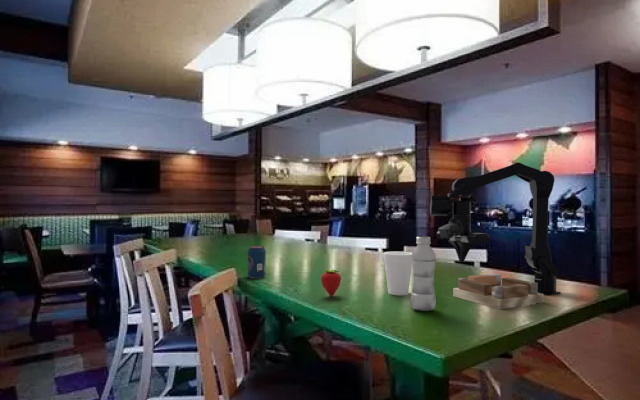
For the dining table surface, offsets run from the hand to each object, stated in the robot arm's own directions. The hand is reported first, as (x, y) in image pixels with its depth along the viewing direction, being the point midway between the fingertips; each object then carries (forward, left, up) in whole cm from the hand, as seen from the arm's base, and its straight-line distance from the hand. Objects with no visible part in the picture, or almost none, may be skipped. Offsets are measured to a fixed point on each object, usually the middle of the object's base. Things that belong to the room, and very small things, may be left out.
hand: (461, 261), depth 142 cm
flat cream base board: (0, +15, -10) cm, 18 cm away
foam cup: (+22, -5, -10) cm, 25 cm away
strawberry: (+44, -10, -10) cm, 47 cm away
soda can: (+55, -53, -10) cm, 77 cm away
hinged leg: (-3, +8, -7) cm, 11 cm away
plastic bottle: (+29, +16, -10) cm, 35 cm away
